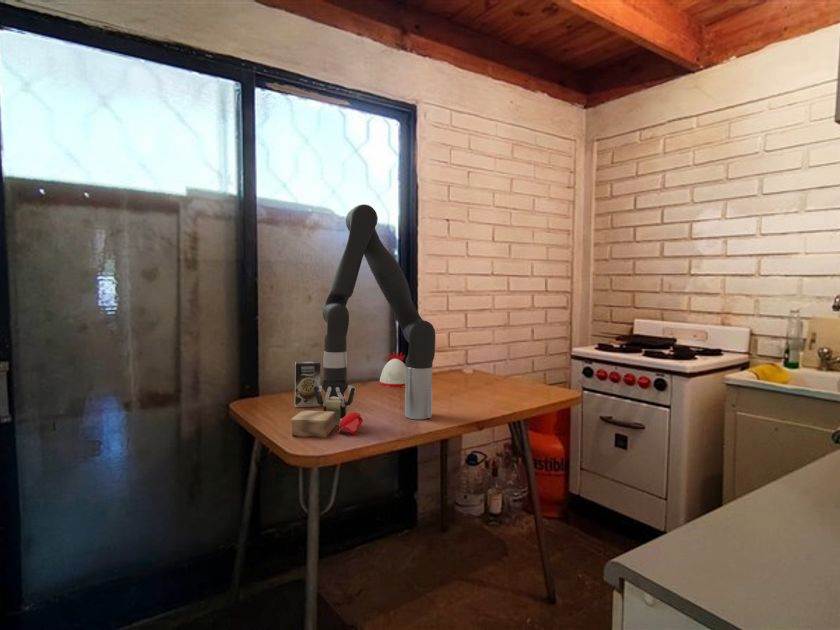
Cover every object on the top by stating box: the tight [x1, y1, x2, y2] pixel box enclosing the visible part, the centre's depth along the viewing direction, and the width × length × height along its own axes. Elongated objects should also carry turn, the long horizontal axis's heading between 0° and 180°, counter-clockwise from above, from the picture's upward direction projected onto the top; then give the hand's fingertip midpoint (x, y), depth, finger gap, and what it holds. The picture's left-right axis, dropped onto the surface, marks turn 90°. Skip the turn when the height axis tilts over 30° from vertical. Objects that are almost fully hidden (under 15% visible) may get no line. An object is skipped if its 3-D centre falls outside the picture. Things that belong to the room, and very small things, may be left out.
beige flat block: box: [290, 410, 335, 438], centre depth 150 cm, size 11×11×5 cm
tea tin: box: [326, 396, 342, 426], centre depth 160 cm, size 5×5×8 cm
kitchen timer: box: [379, 351, 406, 388], centre depth 223 cm, size 14×14×15 cm
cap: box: [338, 412, 364, 436], centre depth 150 cm, size 8×6×6 cm
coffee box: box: [294, 360, 322, 408], centre depth 183 cm, size 9×6×16 cm
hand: (334, 417), depth 160 cm, fingers closed on tea tin, 4 cm apart
